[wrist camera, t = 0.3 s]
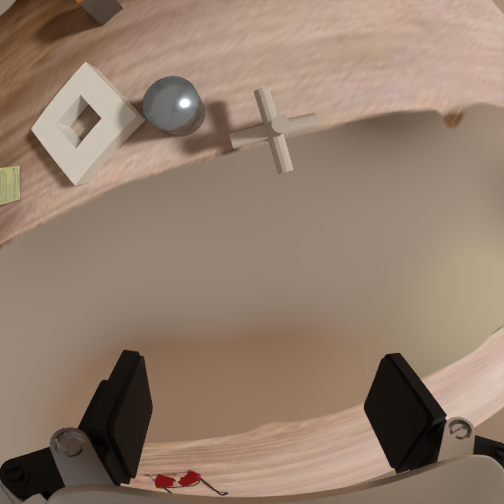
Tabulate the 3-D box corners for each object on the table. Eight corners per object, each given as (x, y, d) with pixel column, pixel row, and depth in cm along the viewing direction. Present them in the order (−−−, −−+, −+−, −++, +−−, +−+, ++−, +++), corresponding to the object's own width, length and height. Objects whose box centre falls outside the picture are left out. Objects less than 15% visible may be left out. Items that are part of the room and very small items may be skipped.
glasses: (199, 467, 56) (198, 483, 51) (228, 492, 61) (228, 506, 56) (153, 472, 57) (150, 487, 52) (185, 497, 62) (184, 510, 57)
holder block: (97, 69, 31) (85, 61, 28) (145, 119, 34) (136, 115, 31) (45, 130, 33) (30, 129, 29) (88, 183, 36) (75, 185, 32)
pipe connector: (242, 180, 38) (245, 186, 28) (221, 109, 35) (216, 90, 25) (315, 161, 37) (341, 161, 28) (294, 91, 35) (314, 69, 25)
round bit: (185, 84, 33) (173, 65, 26) (214, 114, 35) (209, 101, 27) (151, 114, 34) (131, 104, 27) (180, 145, 36) (166, 140, 28)
